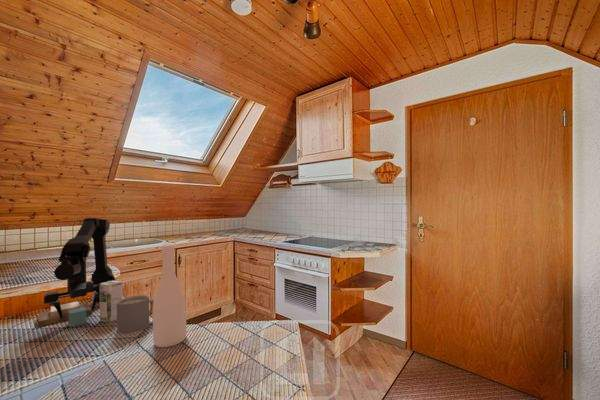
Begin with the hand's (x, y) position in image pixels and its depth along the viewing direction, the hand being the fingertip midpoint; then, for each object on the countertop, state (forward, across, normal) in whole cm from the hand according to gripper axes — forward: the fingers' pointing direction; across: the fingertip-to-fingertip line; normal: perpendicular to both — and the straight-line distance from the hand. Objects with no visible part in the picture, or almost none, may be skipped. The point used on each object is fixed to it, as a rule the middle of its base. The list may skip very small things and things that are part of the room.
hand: (77, 315), depth 105 cm
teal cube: (+3, 0, 0) cm, 3 cm away
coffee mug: (+3, +16, -22) cm, 27 cm away
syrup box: (+3, +10, -6) cm, 12 cm away
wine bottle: (+3, +20, -44) cm, 49 cm away
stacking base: (+3, -3, +14) cm, 15 cm away
